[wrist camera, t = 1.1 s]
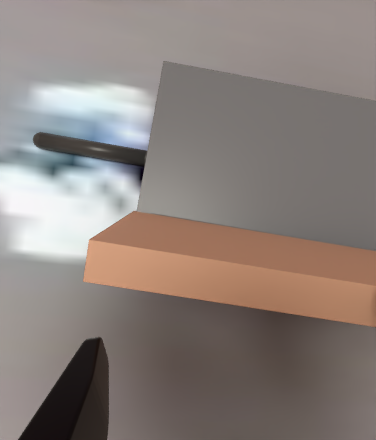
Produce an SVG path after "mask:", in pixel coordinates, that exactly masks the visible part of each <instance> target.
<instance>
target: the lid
mask: <svg viewBox="0 0 376 440" xmlns="http://www.w3.org/2000/svg"><path fill="white" fill-rule="evenodd" d="M83 282H89V283H96V284H102V285H109V286H115V287H121V288H128V289H134V290H141V291H147V292H154V293H160V294H166V295H173V296H179V297H186V298H192V299H199V300H205V301H211V302H218V303H224V304H231V305H237V306H244V307H250V308H257V309H263V310H269V311H276V312H282V313H289V314H295V315H302V316H308V317H314V318H321V319H327V320H334V321H340V322H347V323H353V324H359V325H366V326H372V327H376V250H371V249H365V248H359V247H353V246H347V245H341V244H334V243H328V242H322V241H316V240H310V239H304V238H298V237H292V236H286V235H280V234H274V233H268V232H262V231H256V230H250V229H244V228H238V227H232V226H226V225H220V224H214V223H208V222H202V221H196V220H190V219H184V218H178V217H172V216H166V215H160V214H154V213H152V214H149V213H143V212H137V211H133V212H132V213H130V214H128V215H127V216H125V217H124V218H122V219H121V220H119V221H118V222H116V223H114V224H113V225H111V226H110V227H108V228H107V229H105V230H104V231H102V232H100V233H99V234H97V235H96V236H94V237H93V238H91V239H90V240H89V244H88V251H87V258H86V265H85V272H84V279H83Z"/></svg>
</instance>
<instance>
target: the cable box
mask: <svg viewBox="0 0 376 440" xmlns="http://www.w3.org/2000/svg"><path fill="white" fill-rule="evenodd" d="M33 142H34V144H35V145H36V146H37V147H38V148H42V149H48V150H54V151H59V152H65V153H71V154H77V155H83V156H88V157H94V158H100V159H106V160H111V161H117V162H123V163H129V164H135V165H140V166H145V168H144V173H143V179H142V185H141V190H140V196H139V201H138V207H137V212H143V213H149V214H152V213H154V214H160V215H166V216H172V217H178V218H184V219H190V220H196V221H202V222H208V223H214V224H220V225H226V226H232V227H238V228H244V229H250V230H256V231H262V232H268V233H274V234H280V235H286V236H292V237H298V238H304V239H310V240H316V241H322V242H328V243H334V244H341V245H347V246H353V247H359V248H365V249H371V250H376V101H374V100H369V99H364V98H358V97H353V96H348V95H342V94H337V93H332V92H326V91H321V90H316V89H310V88H305V87H300V86H294V85H289V84H284V83H278V82H273V81H268V80H262V79H257V78H252V77H246V76H241V75H236V74H230V73H225V72H220V71H214V70H209V69H204V68H199V67H193V66H188V65H183V64H177V63H172V62H167V61H163V67H162V73H161V78H160V84H159V89H158V95H157V101H156V106H155V112H154V117H153V123H152V129H151V134H150V140H149V145H148V151H146V150H140V149H134V148H128V147H123V146H117V145H111V144H106V143H100V142H94V141H88V140H83V139H77V138H71V137H66V136H60V135H54V134H48V133H43V132H39V133H37V134H35V135H34V137H33Z"/></svg>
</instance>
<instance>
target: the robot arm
mask: <svg viewBox="0 0 376 440" xmlns="http://www.w3.org/2000/svg"><path fill="white" fill-rule="evenodd" d="M108 424H109V365H108V357H107V354H106V350H105V347H104V343H103V340H102V338H101V337H95V338H89V339H86V340H85V341H84V342H83V343H82V345H81V346H80V348H79V349H78V351H77V352H76V354H75V355H74V357H73V358H72V360H71V361H70V363H69V364H68V366H67V367H66V369H65V370H64V372H63V373H62V375H61V376H60V378H59V379H58V381H57V382H56V384H55V385H54V387H53V388H52V390H51V391H50V393H49V394H48V396H47V397H46V399H45V400H44V402H43V403H42V405H41V406H40V408H39V409H38V411H37V412H36V414H35V415H34V417H33V418H32V420H31V421H30V423H29V424H28V426H27V427H26V429H25V430H24V432H23V433H22V435H21V436H20V438H19V439H18V440H107V435H108Z"/></svg>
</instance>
